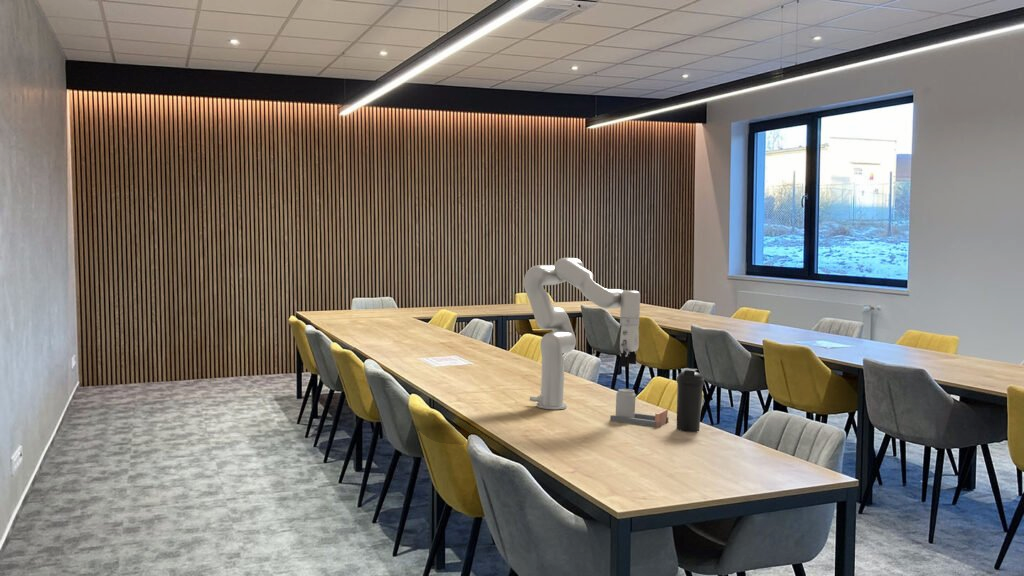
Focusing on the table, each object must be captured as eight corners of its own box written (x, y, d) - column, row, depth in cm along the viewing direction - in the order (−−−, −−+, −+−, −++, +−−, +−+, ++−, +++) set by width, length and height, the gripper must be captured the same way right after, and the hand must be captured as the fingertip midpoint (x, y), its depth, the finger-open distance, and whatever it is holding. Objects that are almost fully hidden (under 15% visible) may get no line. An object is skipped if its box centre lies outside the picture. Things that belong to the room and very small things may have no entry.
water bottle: (703, 428, 327) (706, 368, 326) (699, 433, 318) (702, 372, 316) (676, 425, 331) (679, 366, 329) (672, 430, 321) (675, 369, 320)
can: (633, 422, 334) (635, 391, 333) (614, 420, 335) (615, 390, 335) (634, 418, 341) (636, 388, 340) (616, 417, 343) (617, 387, 342)
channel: (610, 420, 335) (610, 408, 335) (619, 416, 345) (620, 403, 345) (659, 427, 326) (660, 414, 326) (668, 422, 336) (668, 409, 336)
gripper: (631, 324, 327) (629, 368, 328) (645, 321, 342) (643, 363, 343) (613, 322, 330) (611, 366, 331) (627, 320, 346) (625, 362, 346)
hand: (627, 365), depth 337 cm, fingers open, 9 cm apart
